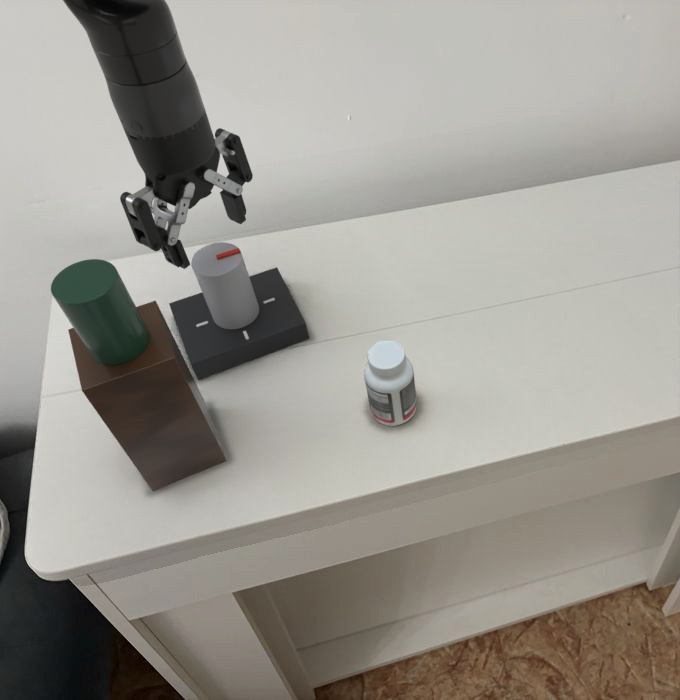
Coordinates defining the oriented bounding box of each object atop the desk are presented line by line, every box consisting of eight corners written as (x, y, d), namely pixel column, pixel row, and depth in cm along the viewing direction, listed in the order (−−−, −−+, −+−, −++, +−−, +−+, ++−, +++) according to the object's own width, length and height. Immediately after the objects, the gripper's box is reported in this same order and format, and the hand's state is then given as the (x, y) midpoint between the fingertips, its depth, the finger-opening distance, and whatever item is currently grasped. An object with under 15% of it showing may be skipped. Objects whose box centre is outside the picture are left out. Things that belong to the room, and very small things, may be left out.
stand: (152, 491, 75) (81, 391, 61) (137, 434, 79) (67, 329, 66) (227, 460, 77) (175, 357, 63) (207, 407, 82) (155, 300, 68)
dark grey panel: (198, 380, 84) (190, 363, 82) (176, 319, 91) (168, 302, 88) (309, 338, 89) (305, 321, 86) (281, 283, 95) (276, 266, 92)
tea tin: (95, 373, 62) (55, 312, 56) (86, 334, 65) (46, 271, 59) (155, 352, 64) (122, 290, 58) (143, 314, 67) (111, 251, 61)
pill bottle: (407, 383, 84) (401, 328, 77) (424, 417, 81) (419, 364, 73) (363, 398, 83) (353, 344, 75) (379, 433, 80) (370, 381, 72)
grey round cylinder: (220, 335, 85) (197, 280, 78) (207, 305, 88) (185, 249, 81) (265, 319, 86) (247, 264, 79) (251, 290, 90) (233, 234, 82)
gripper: (190, 66, 71) (231, 196, 83) (71, 135, 63) (136, 267, 76) (245, 87, 68) (279, 218, 81) (129, 163, 61) (186, 294, 73)
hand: (210, 241), depth 78 cm, fingers open, 8 cm apart
